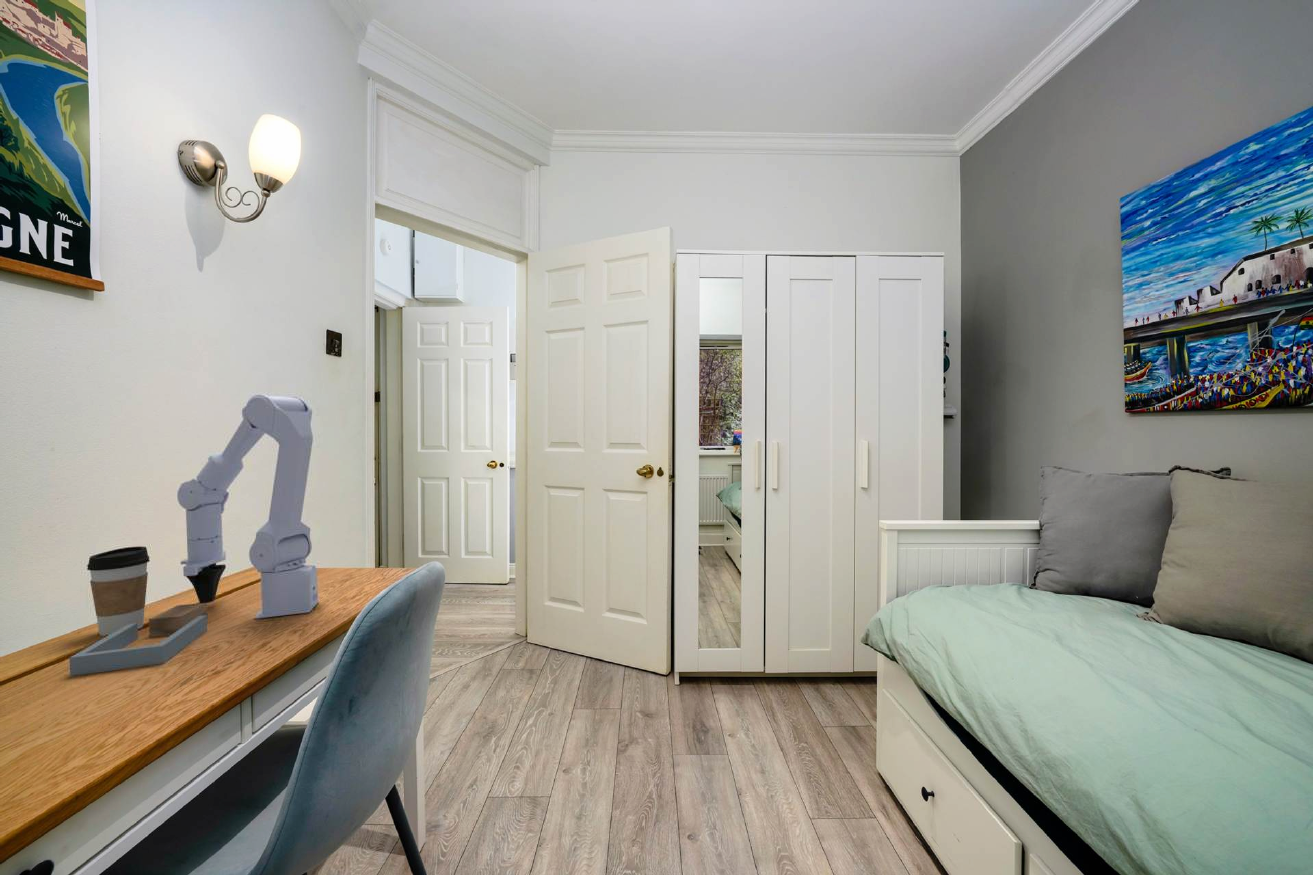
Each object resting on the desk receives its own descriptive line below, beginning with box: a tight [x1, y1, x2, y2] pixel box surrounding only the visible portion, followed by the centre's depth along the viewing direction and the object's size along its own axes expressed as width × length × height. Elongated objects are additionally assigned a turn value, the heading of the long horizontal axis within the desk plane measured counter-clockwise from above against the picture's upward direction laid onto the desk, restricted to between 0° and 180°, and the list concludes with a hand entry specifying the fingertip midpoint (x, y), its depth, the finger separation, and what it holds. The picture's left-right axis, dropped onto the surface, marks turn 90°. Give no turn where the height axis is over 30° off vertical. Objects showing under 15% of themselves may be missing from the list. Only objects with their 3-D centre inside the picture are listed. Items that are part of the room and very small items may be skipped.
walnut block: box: [148, 602, 208, 638], centre depth 102 cm, size 5×8×4 cm, turn 13°
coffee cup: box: [86, 545, 150, 637], centre depth 102 cm, size 8×8×15 cm
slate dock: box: [69, 614, 208, 677], centre depth 91 cm, size 11×16×3 cm
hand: (207, 601), depth 113 cm, fingers closed
